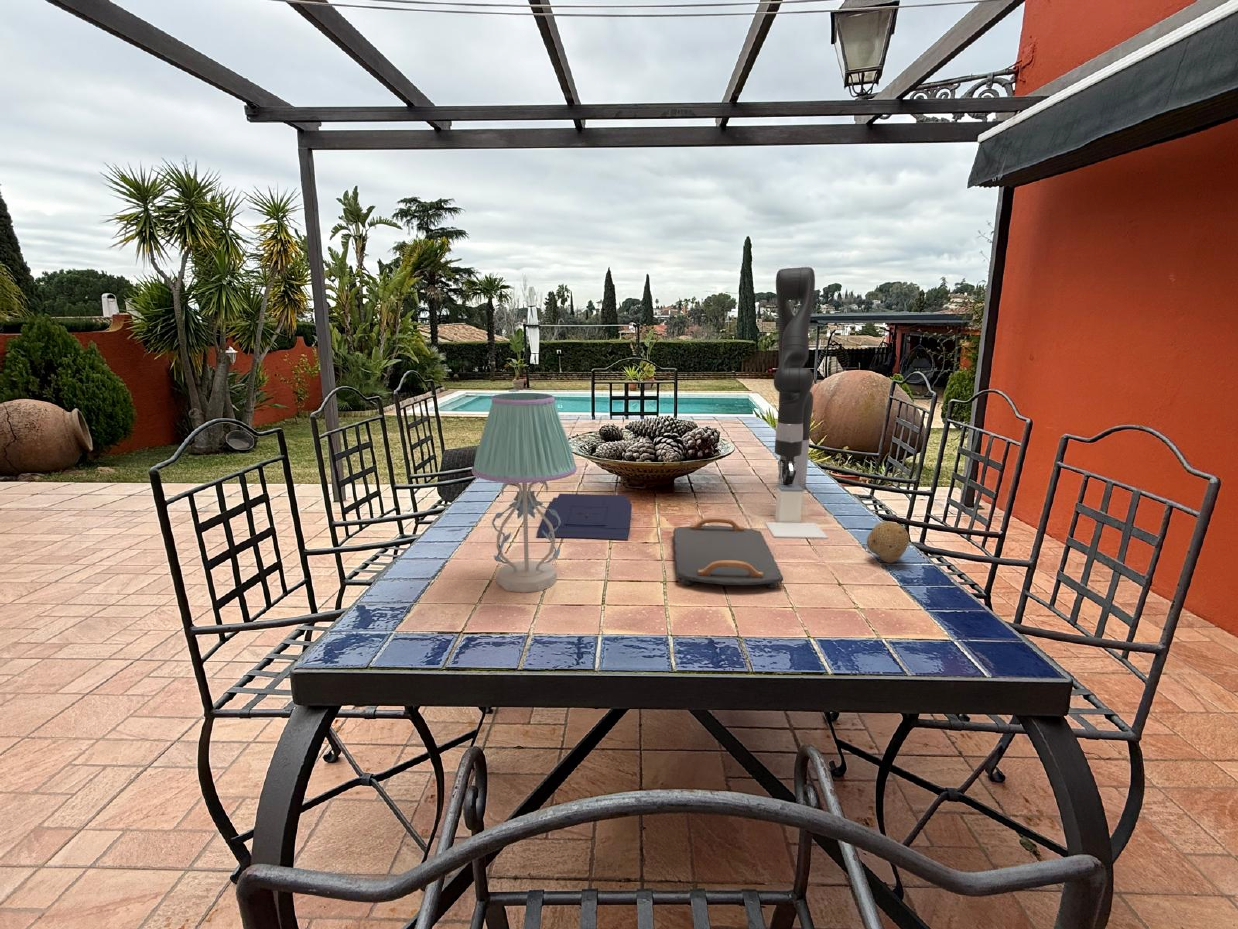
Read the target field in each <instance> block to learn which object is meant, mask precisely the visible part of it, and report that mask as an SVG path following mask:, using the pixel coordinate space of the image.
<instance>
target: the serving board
mask: <svg viewBox="0 0 1238 929" xmlns="http://www.w3.org/2000/svg"><path fill="white" fill-rule="evenodd" d="M711 523H721V524H728V525H729V526H727V525H726V526H725V525H711ZM705 524H706V525H705ZM707 524H710V525H707ZM730 525H731V526H730ZM672 541H673V544H674V548H673V551H674V559H673V560H674V562H675V570H676V573H675V574H676V576H677V578H678V579H682V581H681V582H682V585H683V586H685V587H692V586H693V582H697V583H698V582H700V583H704V584H712V585H713V584H714V585H723V586H724V585H725V586H726V585H727V586H755V585H766V586H767V589H769V590H776V589H777V587H778V584H777V583H781V582H783V581H784V577H783V574H782V573H781V569H780V568H779V565H778V563H777V562H776V559H775V558H774V556H773V554H772V551H771V549H770V547H769V546H768V543H767V541H766V539H765V538H764V535H763V533H762V531H760V530H757V529H753V528H745V527H744V526H740V525H739V524H737V523H736V522H735V521H734V520H733V519H730V518H727V517H721V516H720V517H719V516H716V517H715V516H712V517H711V516H709V517H705V518H703V519H701V520H699V521H698V522H697V523H695V524H691V525H690V526H678V527H675V528H673V540H672Z"/></svg>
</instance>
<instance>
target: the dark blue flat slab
mask: <svg viewBox="0 0 1238 929" xmlns="http://www.w3.org/2000/svg"><path fill="white" fill-rule="evenodd" d="M631 500H632V499H628V495H627V494H626V495H625V494H587V493H583V494H582V493H581V494H579V493H559V494H558V496H557V497H553V498H552V500H551V501H549V503H548V505H547V507H546V508H548V509H553V510H555V511H556V512H557V514H558V516H559V517H560V521H561V523H560V525H559V527H558V528H557V530H556V531H554V536H555V538H584V539H585V538H587V539H605V540H621V541H622V540H625V541H627V540H629V537H630V536H629V535H630V532H631V520H632V509H633V507H632V506H633V505H632V504H633V503H631V502H632V501H631ZM543 514H544V516H545V517H546V518H547V519H548V520H549V522H550V523H551V524H552V526H553V530H554V529H555V528H556V527H557V525H558V523H559V521H558V518H557V517H556V516H554V515H552V514H551V513H550V511H549V510H547V509H545V512H544V513H543ZM542 530H543V531H544V532H545V533H547V534H548V535H549V532H550V529H549V526H548V524H547V523H546V522H545V520H544V519H543V518H542V519H541V521H540V524H539V527H538V530H537V534H536V538H546V537H545V535H544V534H543V532H542ZM550 537H551V533H550Z"/></svg>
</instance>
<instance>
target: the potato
mask: <svg viewBox="0 0 1238 929" xmlns="http://www.w3.org/2000/svg"><path fill="white" fill-rule="evenodd" d="M909 543H910V536H909V533H908V531H907V530H906V528H905V527H904V526H902V525H901V524H900V523H897V522H895V521H894V522H893V521H889V520H888V521H883V522H881V523H880V522H879V524H876V525H875V526H874V527H873V529H872V530H871V531H870V533H869V534H868V536H867V538H866V546H867V549H868V550H869V551H870V552H872V553H873V554H875V555H877V557H879V559H880V560H882V561H883V562H885V563H888V564H891V563H895V562H896V561H898V560H899V559H900V558H902V556H903V555H904V554H905V552H906V551H907V548H908V546H909Z"/></svg>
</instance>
